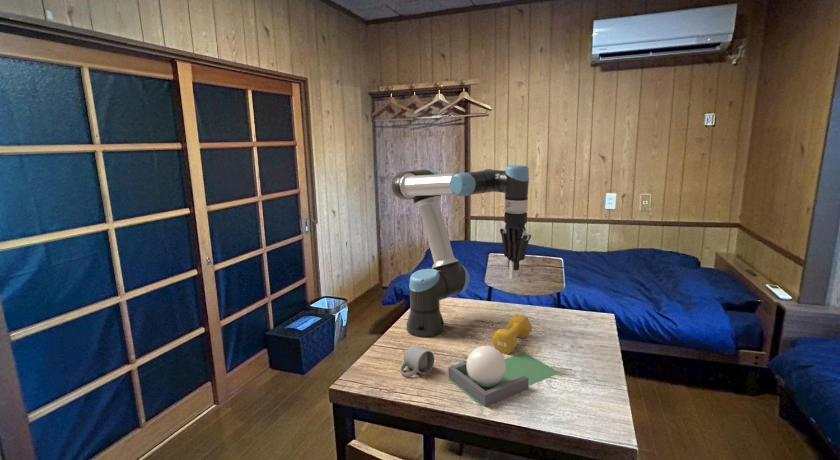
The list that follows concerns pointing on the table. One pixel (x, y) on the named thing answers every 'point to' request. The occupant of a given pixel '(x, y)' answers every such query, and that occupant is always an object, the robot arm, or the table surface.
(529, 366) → the green mat
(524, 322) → the dumbbell
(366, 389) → the table surface
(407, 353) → the ceramic mug
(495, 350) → the ball
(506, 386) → the grey open tray
